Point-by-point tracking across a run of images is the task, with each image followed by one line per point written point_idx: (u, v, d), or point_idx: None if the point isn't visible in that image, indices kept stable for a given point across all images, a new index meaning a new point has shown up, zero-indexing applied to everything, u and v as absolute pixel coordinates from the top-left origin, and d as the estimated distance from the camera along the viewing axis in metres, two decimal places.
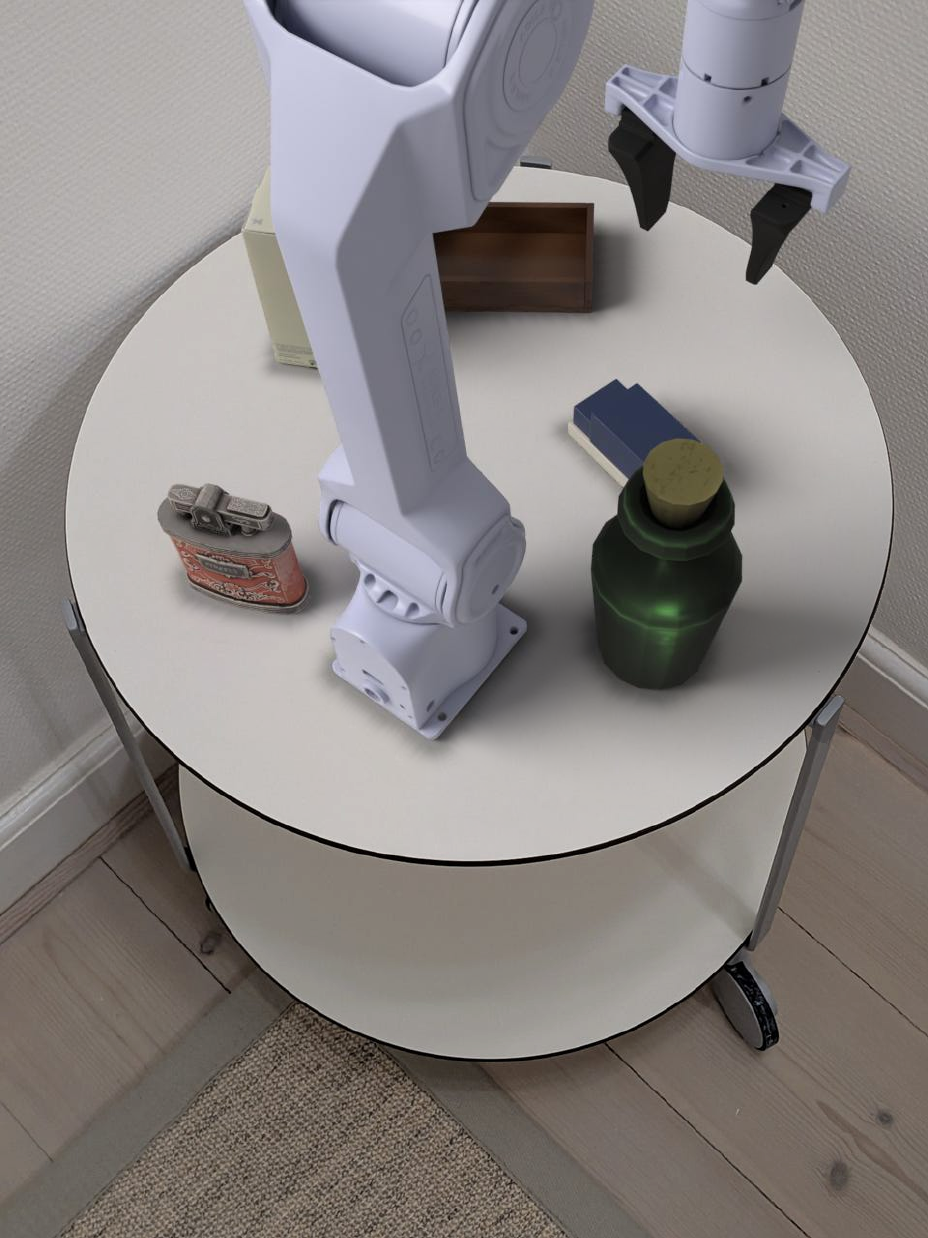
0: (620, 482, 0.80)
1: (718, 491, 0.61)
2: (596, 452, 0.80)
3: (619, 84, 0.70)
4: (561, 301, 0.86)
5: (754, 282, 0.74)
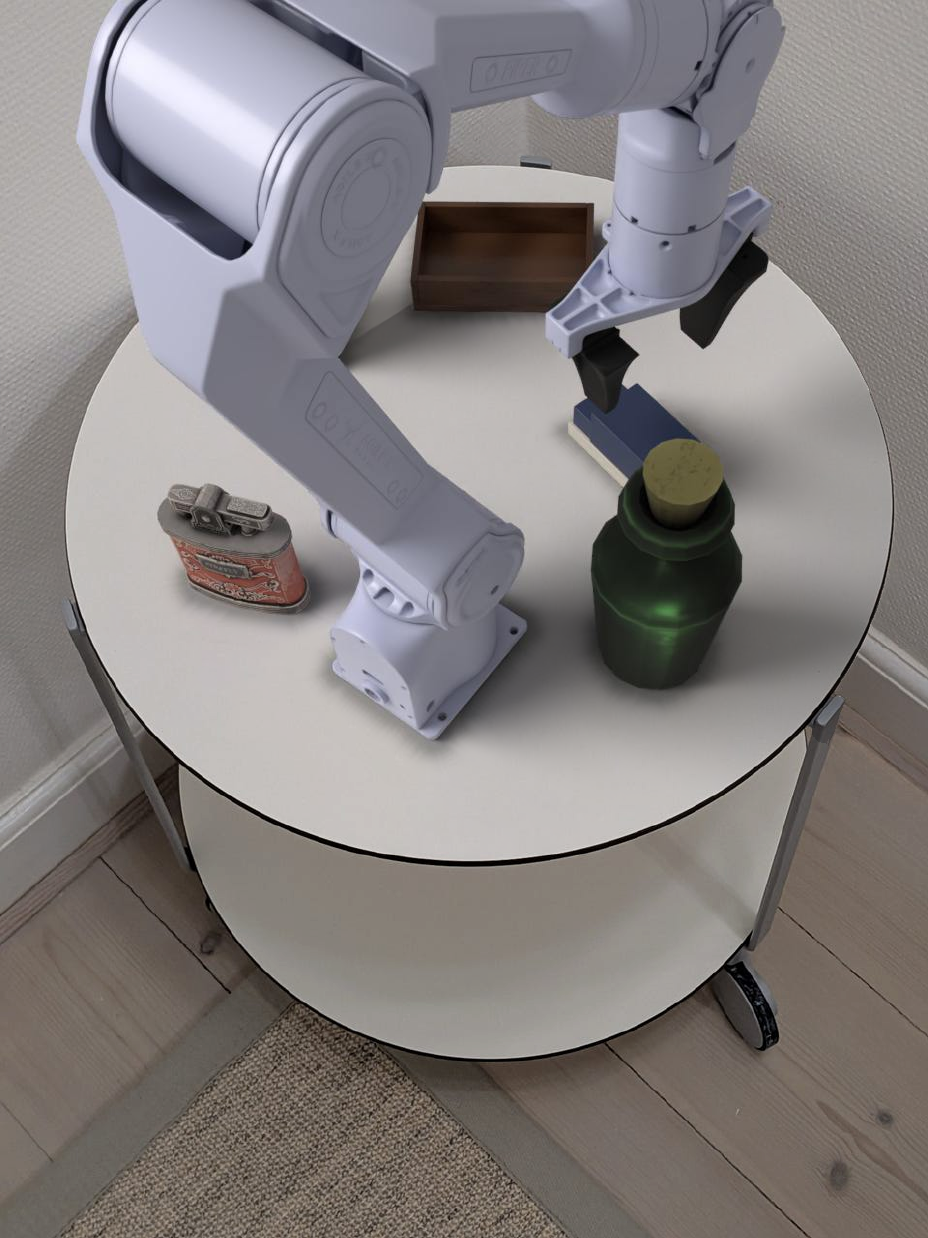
0: (620, 482, 0.80)
1: (718, 491, 0.61)
2: (596, 452, 0.80)
3: (567, 328, 0.65)
4: None
5: (712, 341, 0.75)
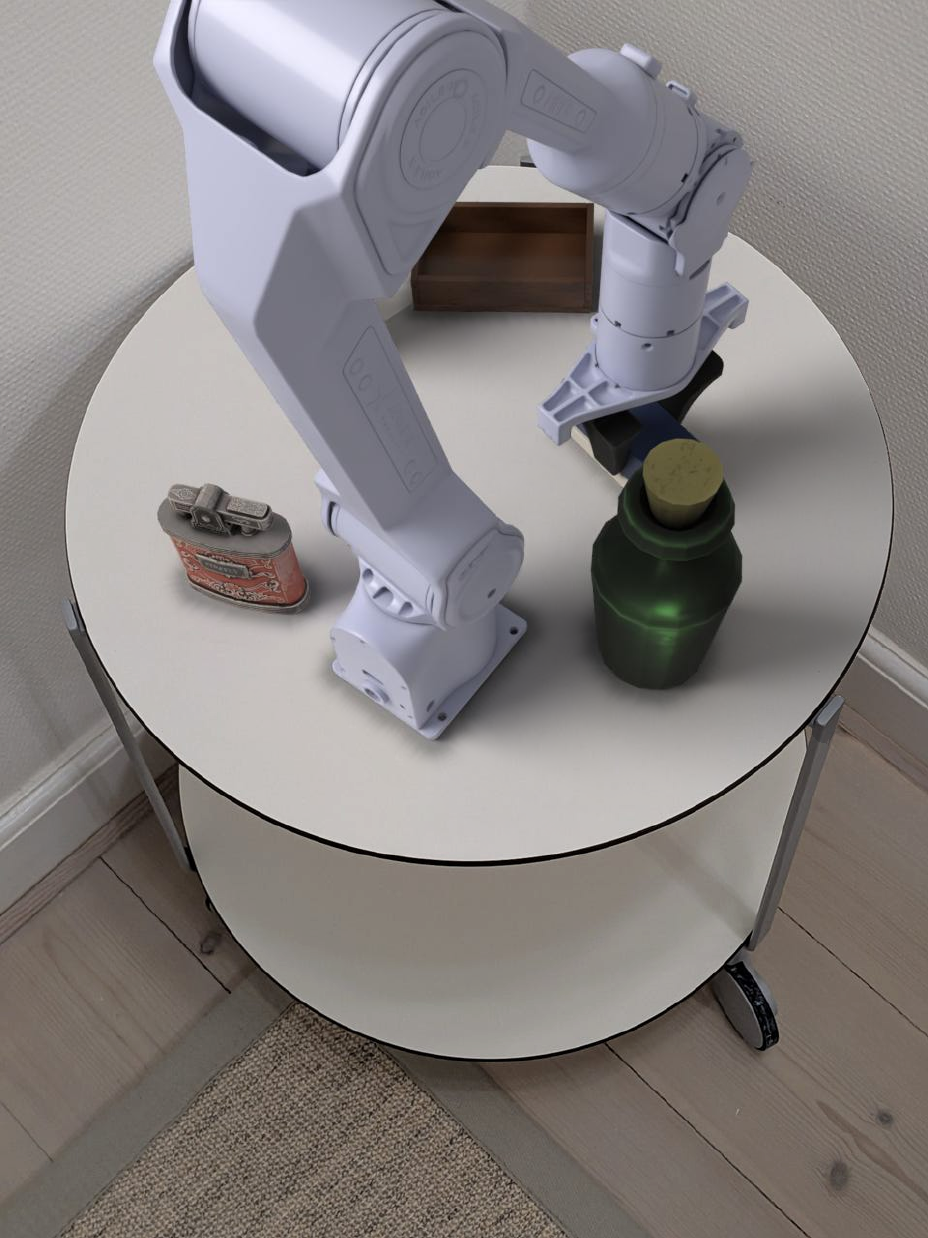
0: (620, 482, 0.80)
1: (718, 491, 0.61)
2: None
3: (557, 418, 0.70)
4: (561, 301, 0.86)
5: None
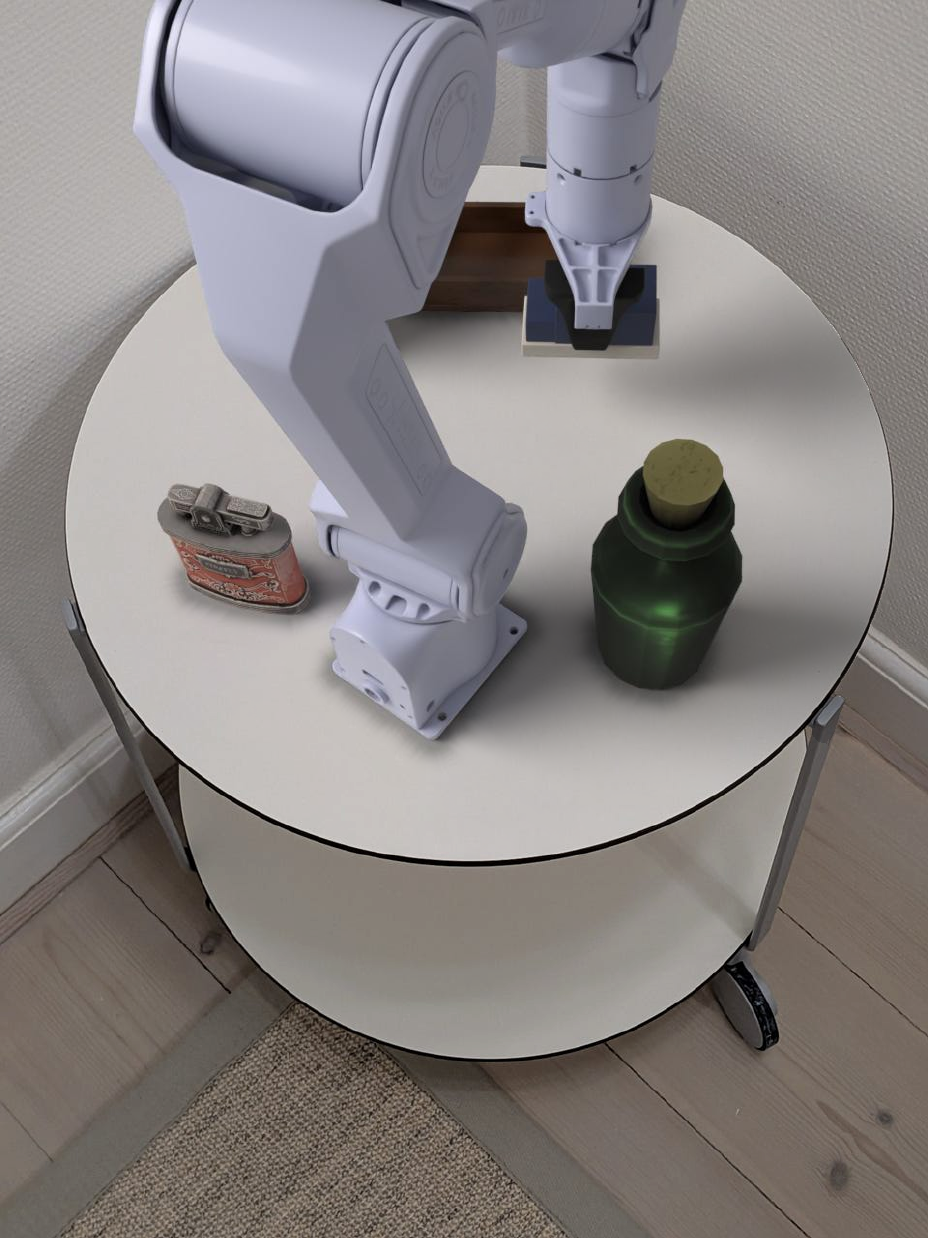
0: (607, 355, 0.77)
1: (718, 491, 0.61)
2: (568, 347, 0.77)
3: None
4: None
5: None
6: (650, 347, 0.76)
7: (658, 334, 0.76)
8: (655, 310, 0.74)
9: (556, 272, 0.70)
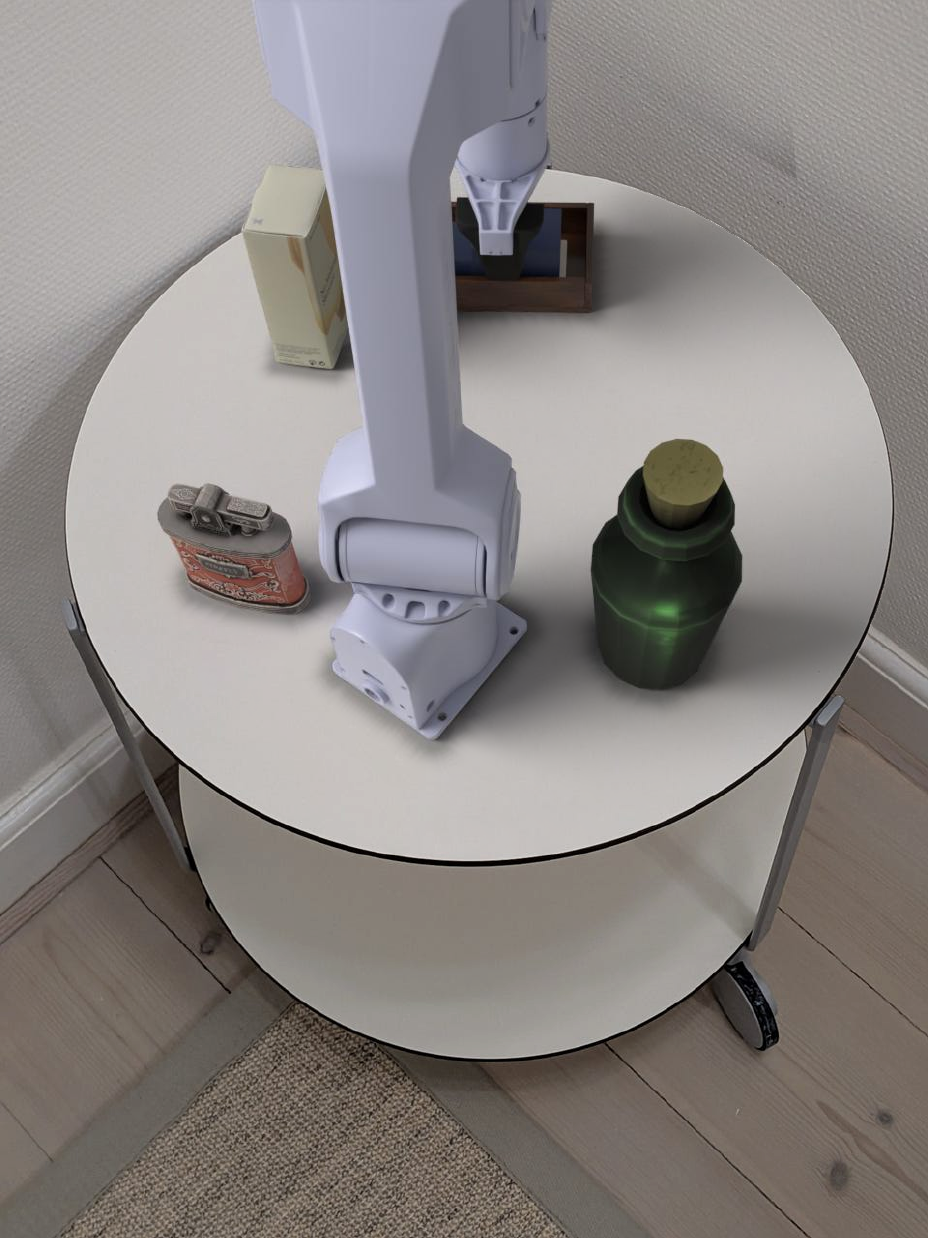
0: None
1: (718, 491, 0.61)
2: None
3: None
4: (561, 301, 0.86)
5: None
6: None
7: (564, 271, 0.86)
8: (558, 247, 0.83)
9: (466, 208, 0.79)
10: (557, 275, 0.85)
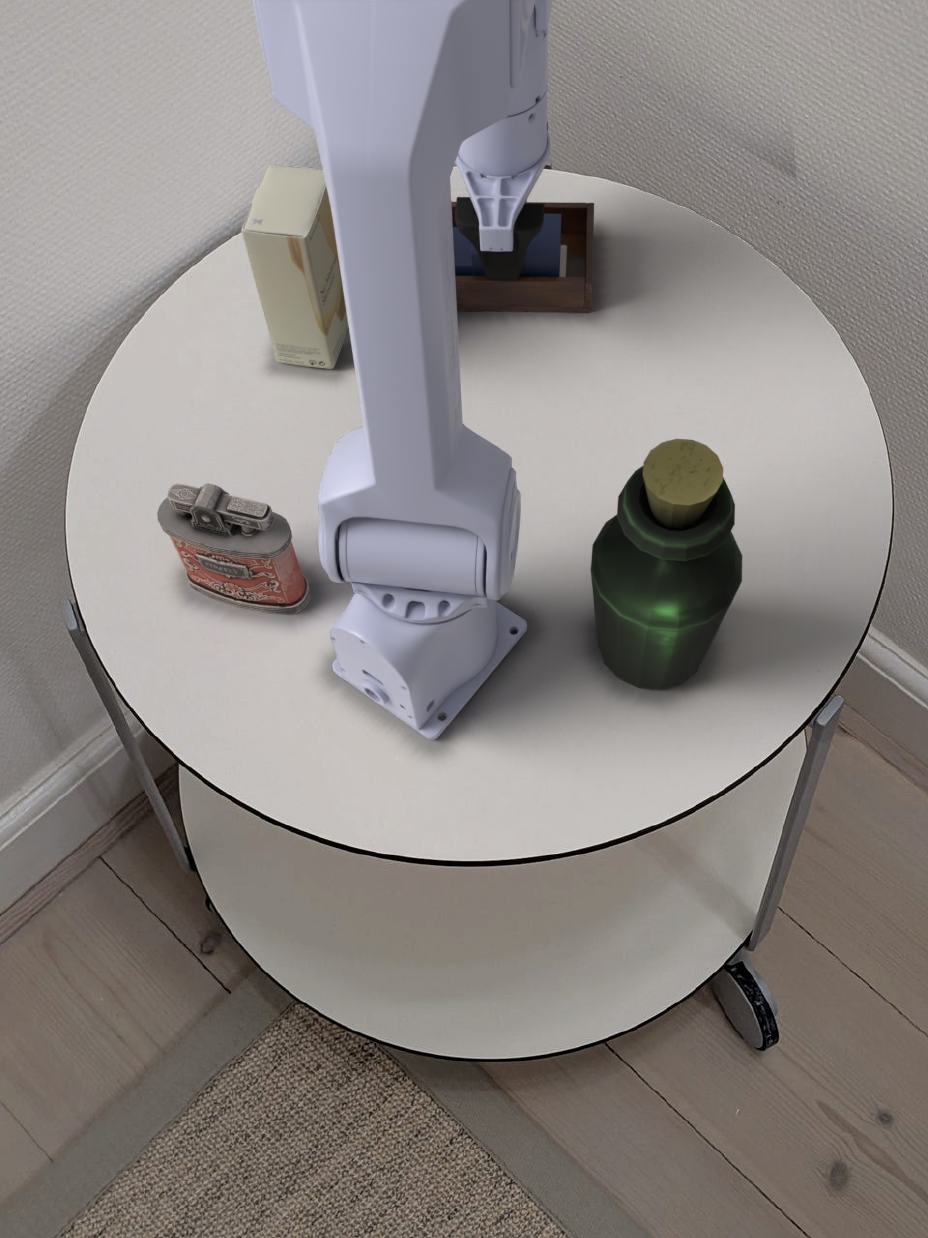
0: None
1: (718, 491, 0.61)
2: None
3: None
4: (561, 301, 0.86)
5: None
6: None
7: (564, 276, 0.86)
8: (558, 252, 0.83)
9: (466, 207, 0.79)
10: None
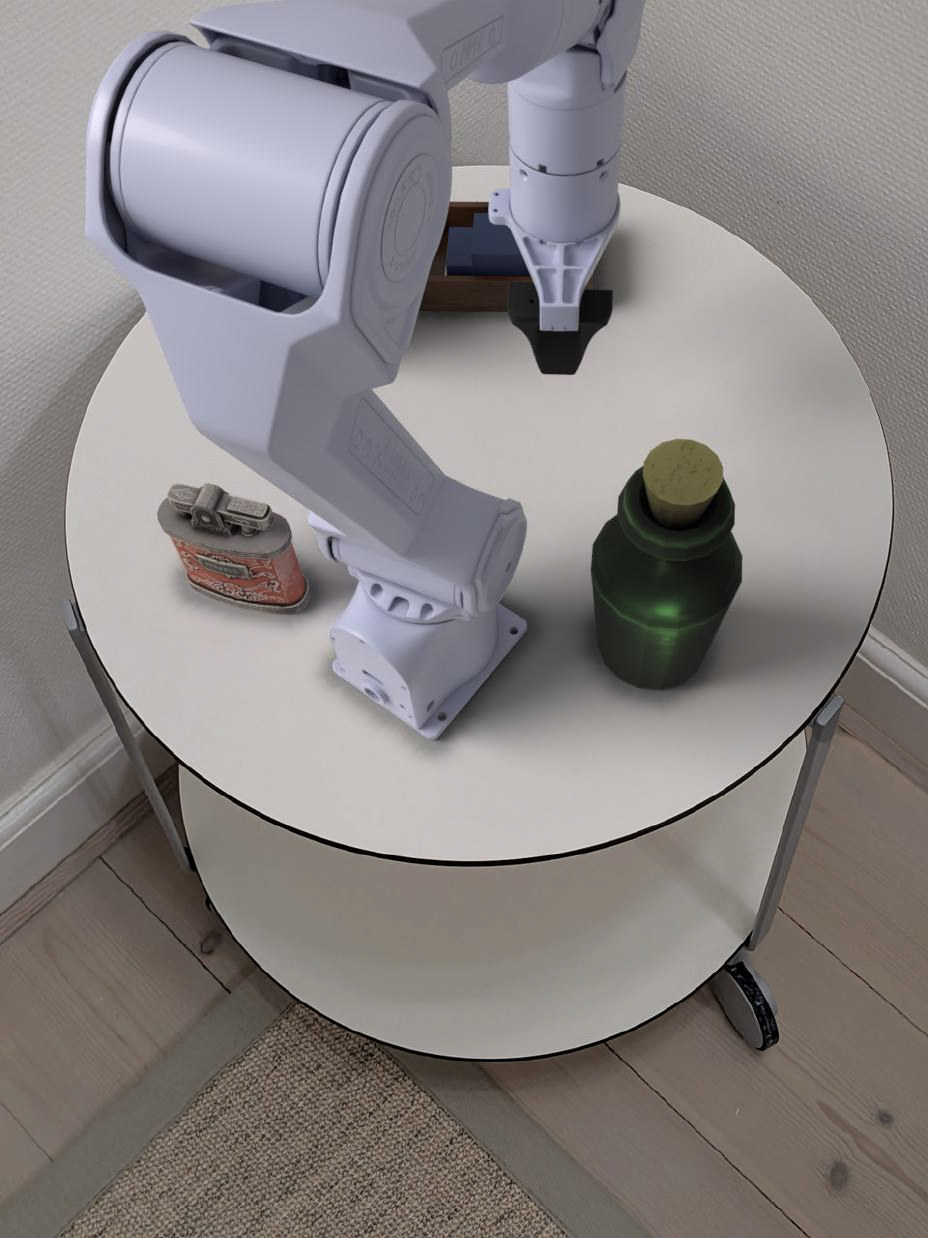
0: None
1: (718, 491, 0.61)
2: None
3: None
4: None
5: None
6: None
7: None
8: None
9: (520, 295, 0.66)
10: None
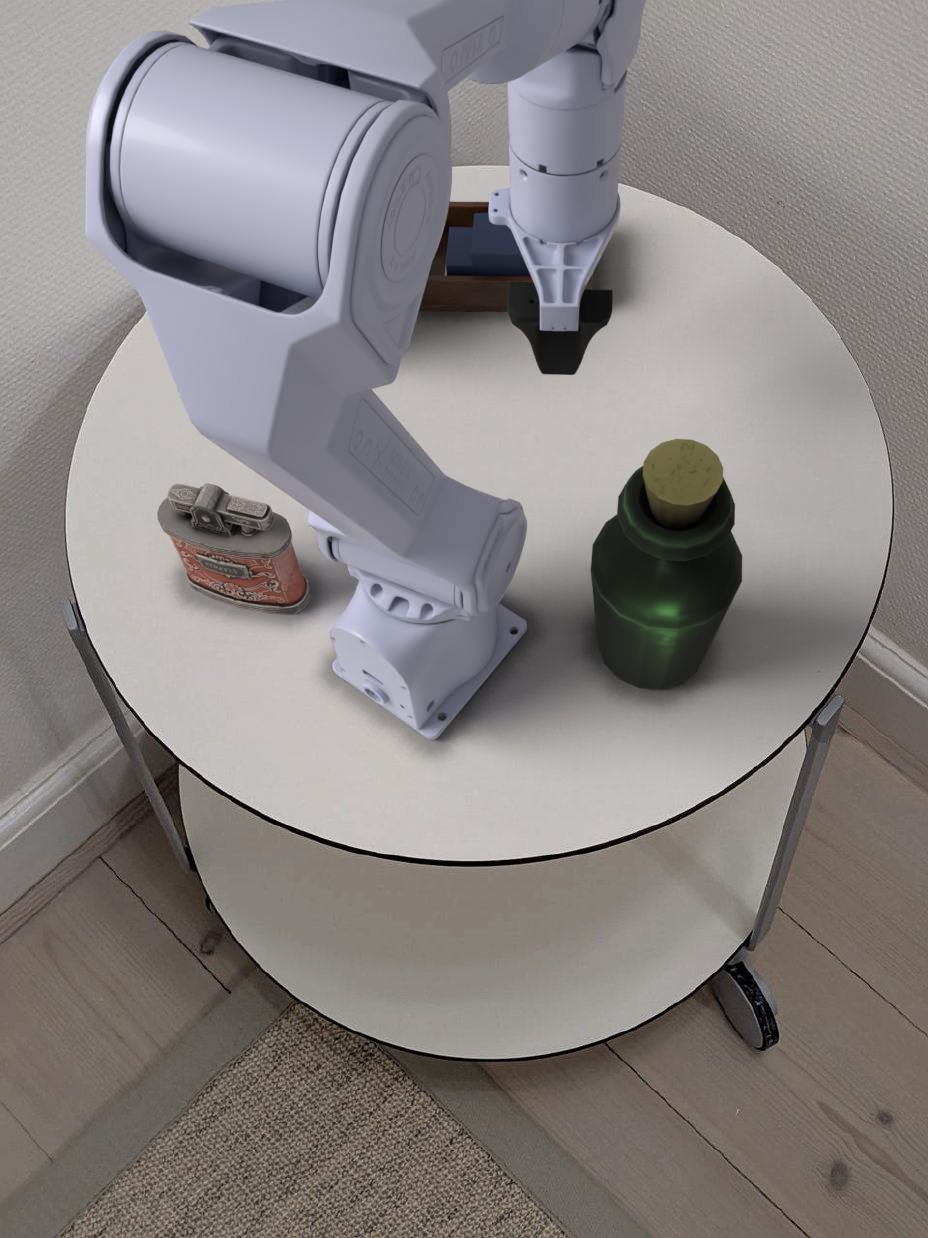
0: None
1: (718, 491, 0.61)
2: None
3: None
4: None
5: None
6: None
7: None
8: None
9: (520, 295, 0.66)
10: None
